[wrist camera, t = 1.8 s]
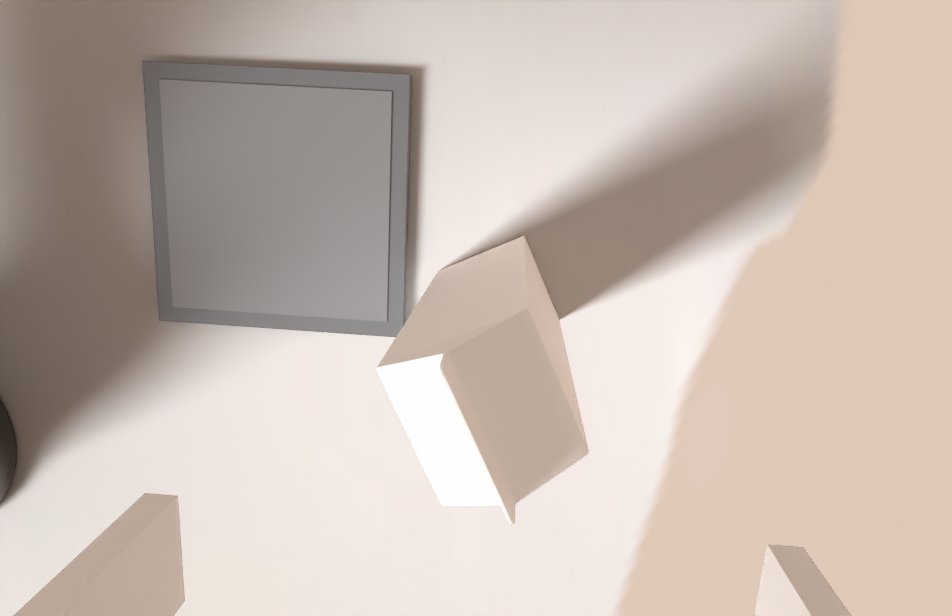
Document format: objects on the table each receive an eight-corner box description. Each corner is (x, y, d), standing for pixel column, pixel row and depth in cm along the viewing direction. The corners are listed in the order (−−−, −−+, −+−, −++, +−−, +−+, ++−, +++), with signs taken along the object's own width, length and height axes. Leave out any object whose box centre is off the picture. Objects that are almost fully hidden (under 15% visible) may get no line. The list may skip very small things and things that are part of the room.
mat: (165, 317, 44) (158, 320, 43) (149, 62, 40) (141, 60, 39) (404, 334, 43) (401, 338, 42) (411, 76, 39) (409, 74, 38)
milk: (524, 234, 41) (533, 327, 20) (560, 321, 42) (605, 497, 21) (435, 271, 42) (352, 398, 21) (473, 355, 43) (431, 558, 22)
